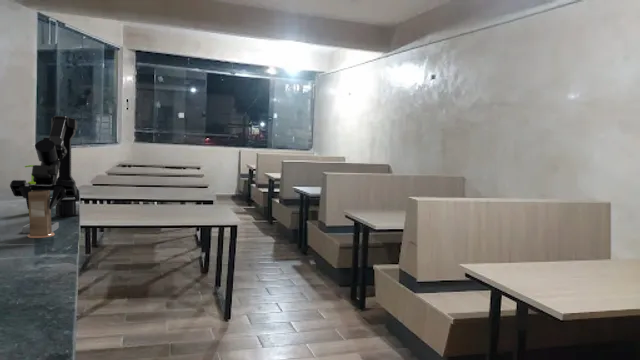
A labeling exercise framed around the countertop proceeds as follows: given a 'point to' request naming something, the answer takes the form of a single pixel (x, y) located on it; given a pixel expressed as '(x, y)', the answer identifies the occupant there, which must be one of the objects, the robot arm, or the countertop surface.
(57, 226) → the gray tray
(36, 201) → the walnut box
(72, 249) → the countertop surface
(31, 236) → the brown curved piece
